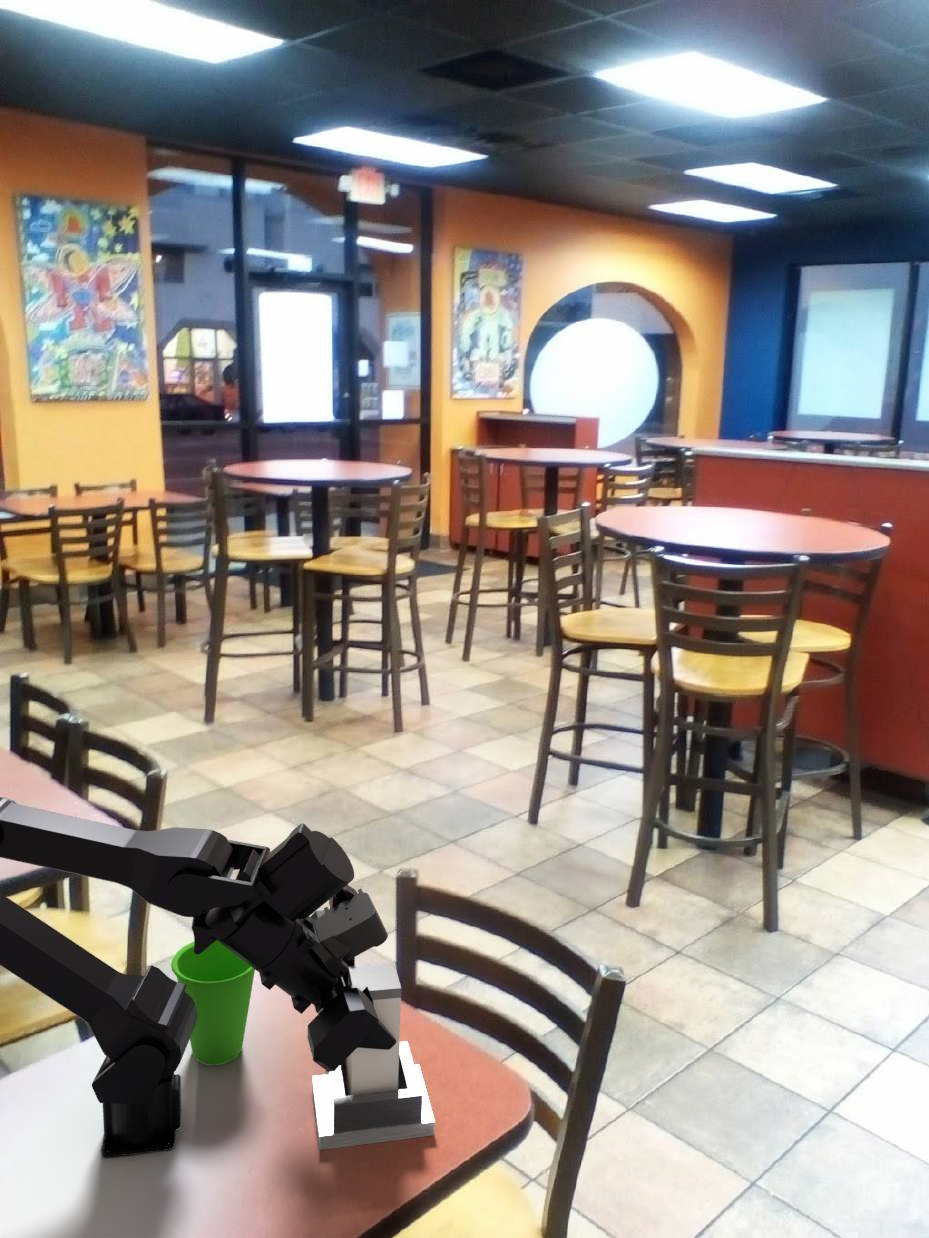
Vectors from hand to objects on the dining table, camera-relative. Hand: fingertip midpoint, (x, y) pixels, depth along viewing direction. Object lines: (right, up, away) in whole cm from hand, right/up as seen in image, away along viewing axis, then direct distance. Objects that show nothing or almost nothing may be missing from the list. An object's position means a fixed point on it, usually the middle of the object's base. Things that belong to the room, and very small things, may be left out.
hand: (386, 1029), depth 99 cm
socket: (-2, -9, +2) cm, 9 cm away
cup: (-19, -6, +10) cm, 22 cm away
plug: (-2, -6, +1) cm, 7 cm away
